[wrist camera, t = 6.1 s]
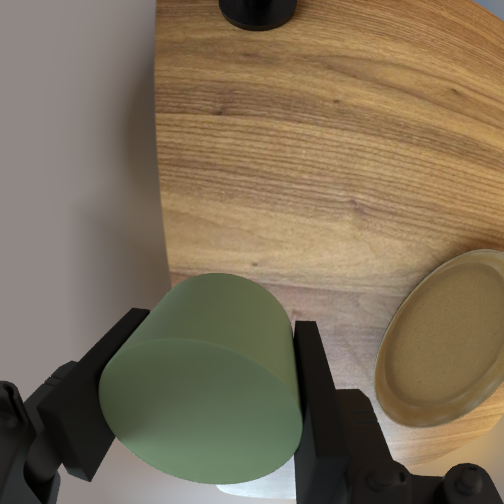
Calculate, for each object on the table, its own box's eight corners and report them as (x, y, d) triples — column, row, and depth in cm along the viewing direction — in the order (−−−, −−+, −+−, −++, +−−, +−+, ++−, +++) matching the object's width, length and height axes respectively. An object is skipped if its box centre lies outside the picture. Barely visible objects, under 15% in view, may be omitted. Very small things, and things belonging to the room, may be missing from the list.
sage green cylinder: (128, 329, 12) (68, 400, 7) (222, 241, 11) (185, 288, 6) (222, 413, 13) (203, 499, 8) (321, 345, 12) (345, 434, 7)
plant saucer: (531, 333, 31) (543, 341, 28) (413, 438, 35) (420, 452, 32) (482, 200, 28) (499, 203, 25) (325, 339, 32) (330, 355, 29)
